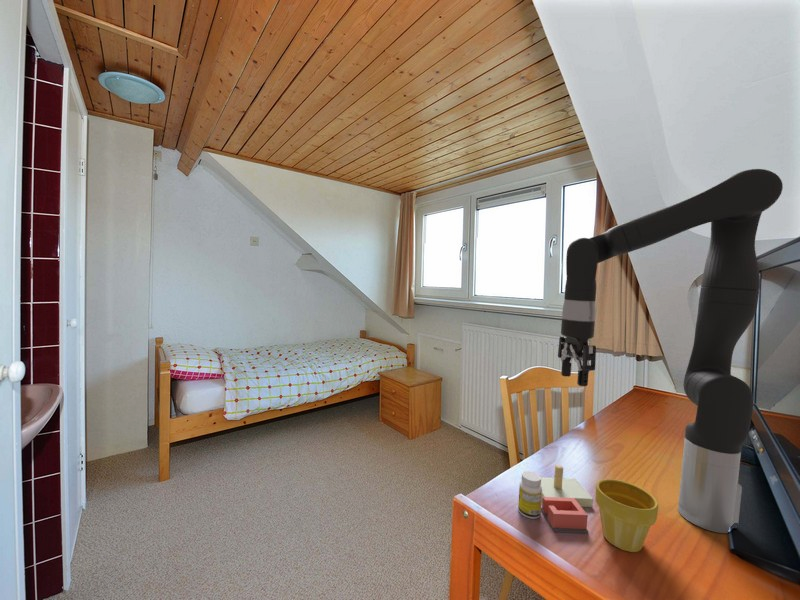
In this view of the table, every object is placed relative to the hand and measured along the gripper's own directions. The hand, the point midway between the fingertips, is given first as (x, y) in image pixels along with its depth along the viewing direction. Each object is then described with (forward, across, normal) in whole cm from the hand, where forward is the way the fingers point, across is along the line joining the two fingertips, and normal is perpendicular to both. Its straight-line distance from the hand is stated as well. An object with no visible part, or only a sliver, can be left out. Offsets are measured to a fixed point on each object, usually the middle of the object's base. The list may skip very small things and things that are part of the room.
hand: (573, 380), depth 90 cm
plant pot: (+26, -21, -1) cm, 34 cm away
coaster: (+26, -16, +8) cm, 32 cm away
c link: (+26, -16, +8) cm, 32 cm away
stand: (+26, -8, +5) cm, 28 cm away
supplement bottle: (+26, -14, +15) cm, 33 cm away
